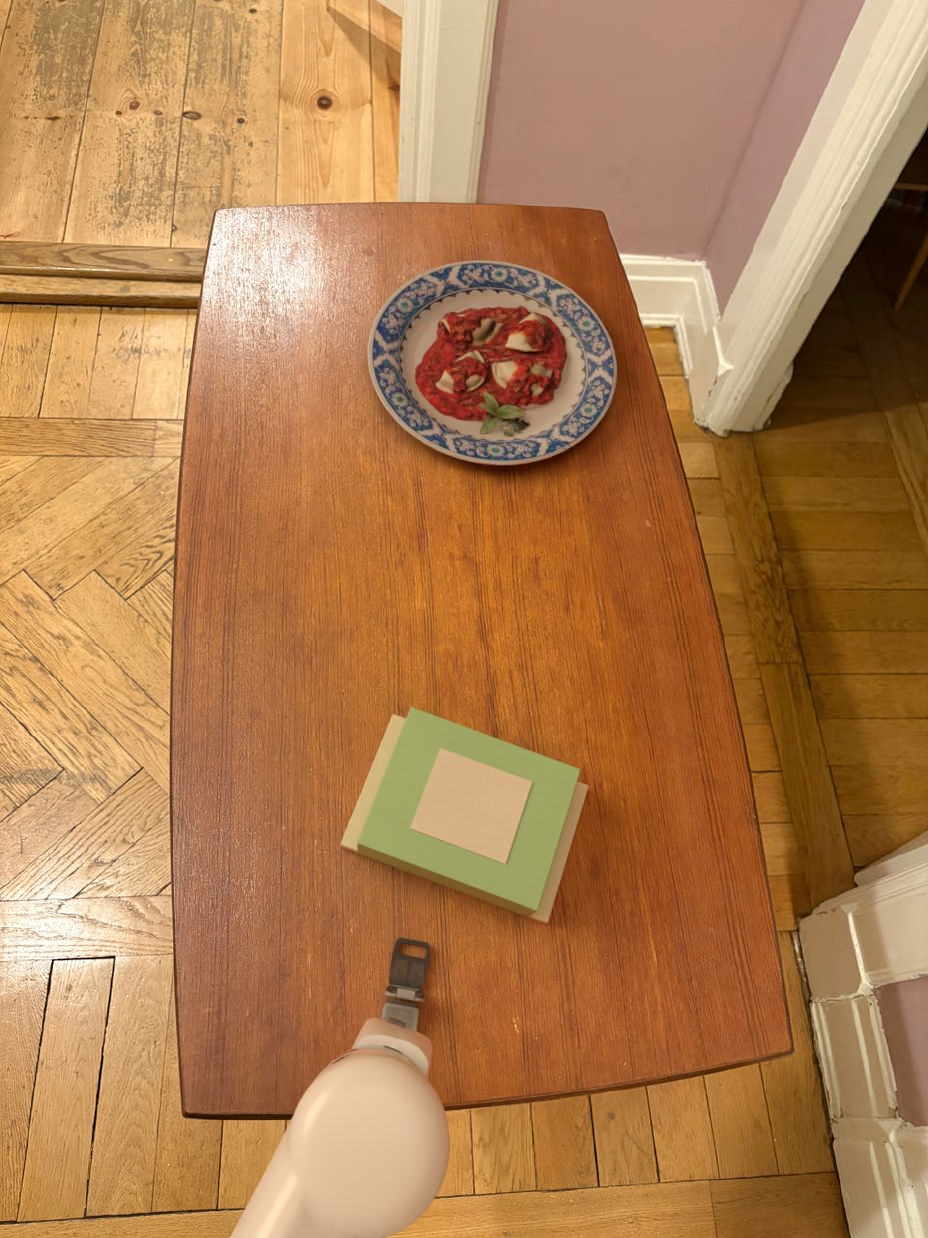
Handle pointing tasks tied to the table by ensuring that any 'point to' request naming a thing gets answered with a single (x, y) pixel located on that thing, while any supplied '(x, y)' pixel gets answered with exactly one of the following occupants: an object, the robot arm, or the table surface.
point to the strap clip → (406, 985)
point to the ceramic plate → (492, 362)
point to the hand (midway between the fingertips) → (369, 1093)
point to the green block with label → (468, 813)
